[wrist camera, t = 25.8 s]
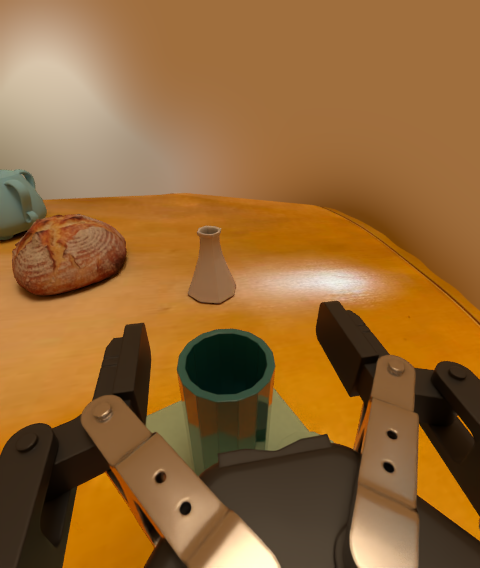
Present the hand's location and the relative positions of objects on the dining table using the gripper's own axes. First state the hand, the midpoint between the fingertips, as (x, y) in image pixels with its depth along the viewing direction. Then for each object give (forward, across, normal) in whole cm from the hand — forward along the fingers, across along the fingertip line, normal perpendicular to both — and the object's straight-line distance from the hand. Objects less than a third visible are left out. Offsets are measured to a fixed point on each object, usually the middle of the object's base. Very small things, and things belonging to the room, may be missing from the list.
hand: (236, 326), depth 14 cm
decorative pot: (+61, -40, -18) cm, 75 cm away
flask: (+29, +1, -18) cm, 34 cm away
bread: (+40, -21, -18) cm, 48 cm away
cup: (+3, 0, -16) cm, 16 cm away
